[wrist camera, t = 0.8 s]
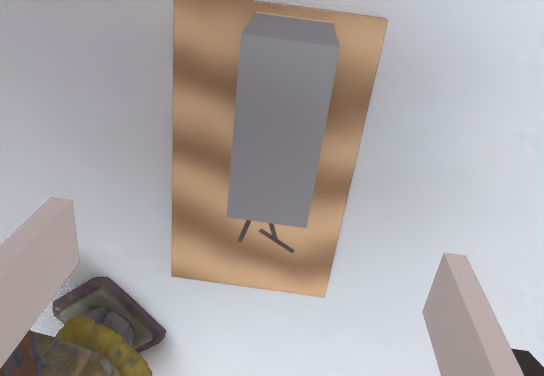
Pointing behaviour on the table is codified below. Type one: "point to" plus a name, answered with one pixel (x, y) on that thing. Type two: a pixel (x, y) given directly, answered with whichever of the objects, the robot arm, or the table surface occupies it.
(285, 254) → the oak board
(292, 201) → the block
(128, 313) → the statue
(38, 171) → the table surface
